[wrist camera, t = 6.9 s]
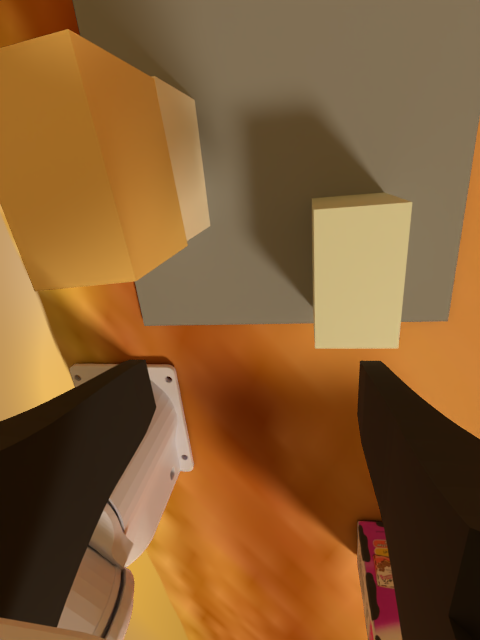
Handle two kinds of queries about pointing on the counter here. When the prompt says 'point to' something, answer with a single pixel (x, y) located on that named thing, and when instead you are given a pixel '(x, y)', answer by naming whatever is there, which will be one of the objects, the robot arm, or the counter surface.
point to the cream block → (184, 156)
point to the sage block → (359, 269)
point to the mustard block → (84, 164)
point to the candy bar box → (377, 583)
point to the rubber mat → (306, 138)
